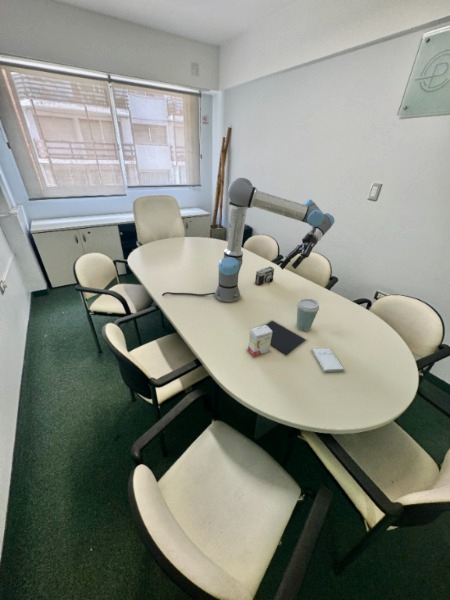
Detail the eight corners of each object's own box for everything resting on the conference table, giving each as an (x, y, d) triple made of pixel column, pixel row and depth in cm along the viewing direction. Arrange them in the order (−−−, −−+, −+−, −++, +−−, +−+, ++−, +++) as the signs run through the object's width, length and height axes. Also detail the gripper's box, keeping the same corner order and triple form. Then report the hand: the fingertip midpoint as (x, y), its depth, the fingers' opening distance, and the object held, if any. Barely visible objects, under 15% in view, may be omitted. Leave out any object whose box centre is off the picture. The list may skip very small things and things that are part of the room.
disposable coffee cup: (302, 336, 119) (308, 310, 111) (287, 324, 127) (292, 299, 119) (317, 330, 123) (325, 305, 115) (303, 319, 131) (308, 295, 123)
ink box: (253, 357, 105) (256, 336, 99) (247, 350, 109) (249, 329, 103) (269, 351, 108) (273, 330, 102) (263, 344, 112) (266, 324, 106)
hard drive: (324, 372, 99) (312, 351, 110) (343, 371, 100) (329, 350, 110) (325, 369, 98) (313, 348, 109) (344, 368, 99) (330, 347, 109)
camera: (263, 288, 160) (265, 274, 155) (254, 283, 165) (255, 270, 160) (277, 282, 168) (279, 269, 162) (268, 278, 173) (270, 265, 168)
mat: (252, 333, 119) (252, 333, 119) (272, 321, 128) (272, 320, 128) (286, 355, 107) (286, 354, 106) (305, 340, 116) (305, 339, 116)
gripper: (331, 240, 119) (304, 271, 117) (303, 246, 143) (280, 272, 141) (321, 229, 117) (294, 261, 115) (295, 237, 141) (272, 263, 140)
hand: (286, 267), depth 128 cm, fingers open, 13 cm apart
